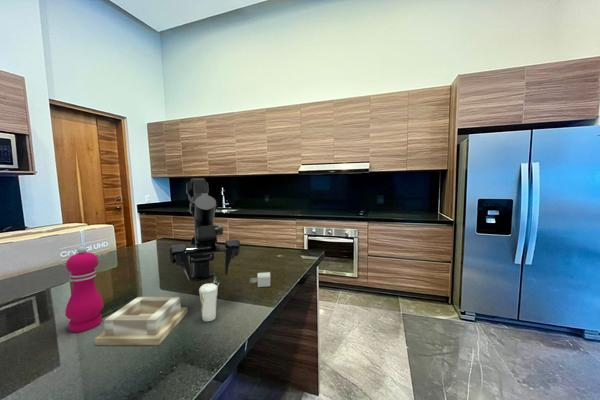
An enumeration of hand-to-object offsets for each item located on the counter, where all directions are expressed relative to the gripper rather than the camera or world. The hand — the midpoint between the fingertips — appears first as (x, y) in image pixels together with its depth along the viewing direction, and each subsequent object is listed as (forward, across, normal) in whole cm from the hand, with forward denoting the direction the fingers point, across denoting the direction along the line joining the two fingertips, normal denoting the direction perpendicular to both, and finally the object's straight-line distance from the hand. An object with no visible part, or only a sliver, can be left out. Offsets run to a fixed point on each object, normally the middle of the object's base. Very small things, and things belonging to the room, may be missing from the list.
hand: (208, 277), depth 67 cm
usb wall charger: (-2, +18, +16) cm, 24 cm away
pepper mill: (+2, -29, +12) cm, 31 cm away
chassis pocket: (+7, -15, +7) cm, 18 cm away
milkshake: (+9, 0, +5) cm, 11 cm away
